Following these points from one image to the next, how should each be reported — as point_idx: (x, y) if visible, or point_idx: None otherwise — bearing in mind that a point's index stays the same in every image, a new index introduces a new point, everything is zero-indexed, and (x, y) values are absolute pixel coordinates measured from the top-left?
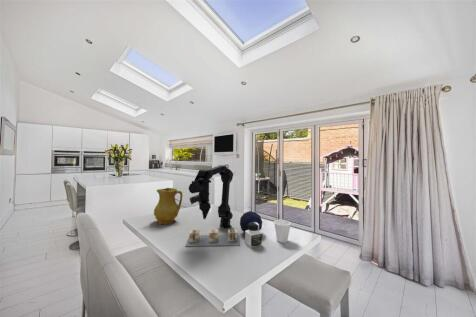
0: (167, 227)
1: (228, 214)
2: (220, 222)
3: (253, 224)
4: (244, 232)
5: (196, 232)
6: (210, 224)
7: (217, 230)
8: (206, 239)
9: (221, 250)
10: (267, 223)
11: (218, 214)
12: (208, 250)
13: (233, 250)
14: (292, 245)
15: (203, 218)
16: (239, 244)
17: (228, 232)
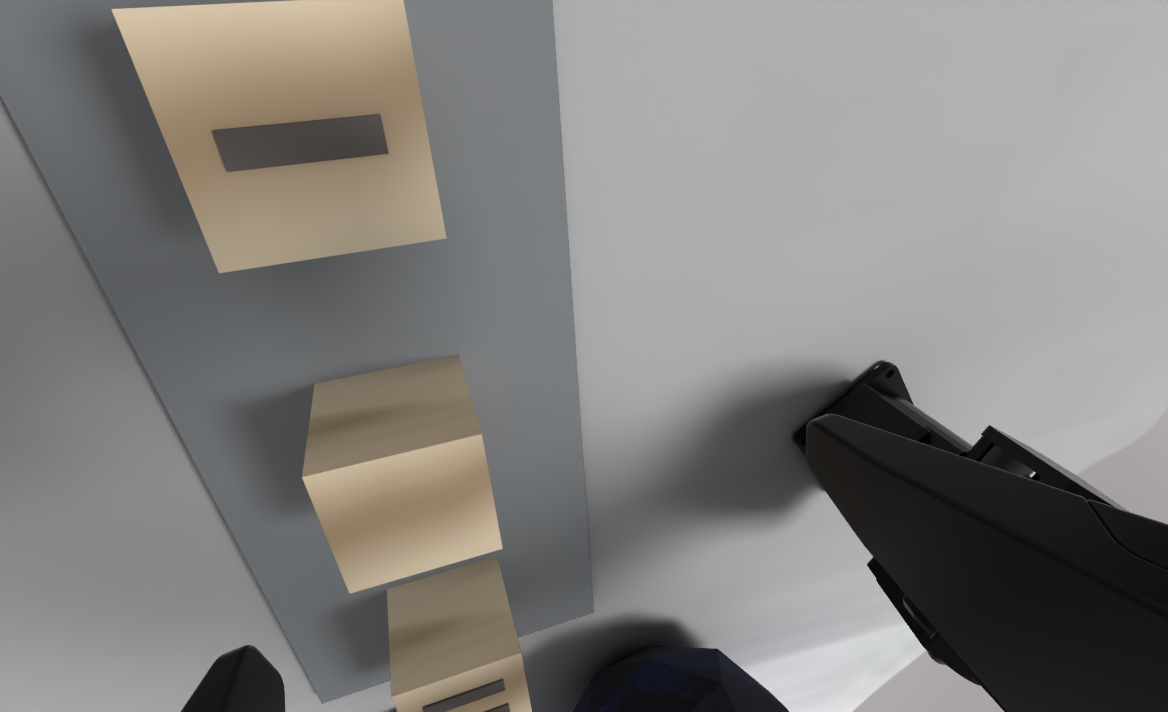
0: None
1: (916, 635)
2: (895, 415)
3: None
4: (610, 671)
5: (249, 211)
6: (972, 228)
7: (459, 555)
8: (393, 325)
9: (110, 584)
10: (832, 704)
11: (1031, 455)
12: (21, 442)
13: (172, 680)
14: None
15: (201, 688)
16: (324, 698)
17: (403, 694)
